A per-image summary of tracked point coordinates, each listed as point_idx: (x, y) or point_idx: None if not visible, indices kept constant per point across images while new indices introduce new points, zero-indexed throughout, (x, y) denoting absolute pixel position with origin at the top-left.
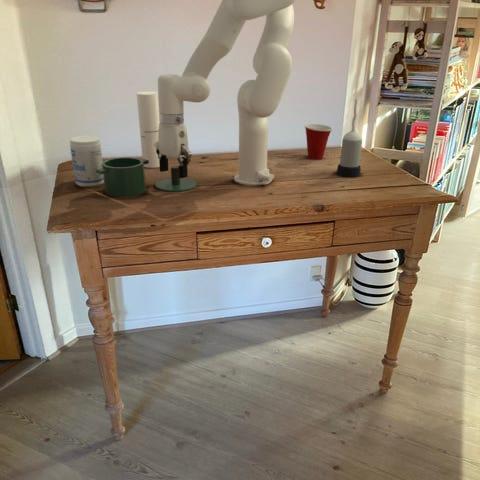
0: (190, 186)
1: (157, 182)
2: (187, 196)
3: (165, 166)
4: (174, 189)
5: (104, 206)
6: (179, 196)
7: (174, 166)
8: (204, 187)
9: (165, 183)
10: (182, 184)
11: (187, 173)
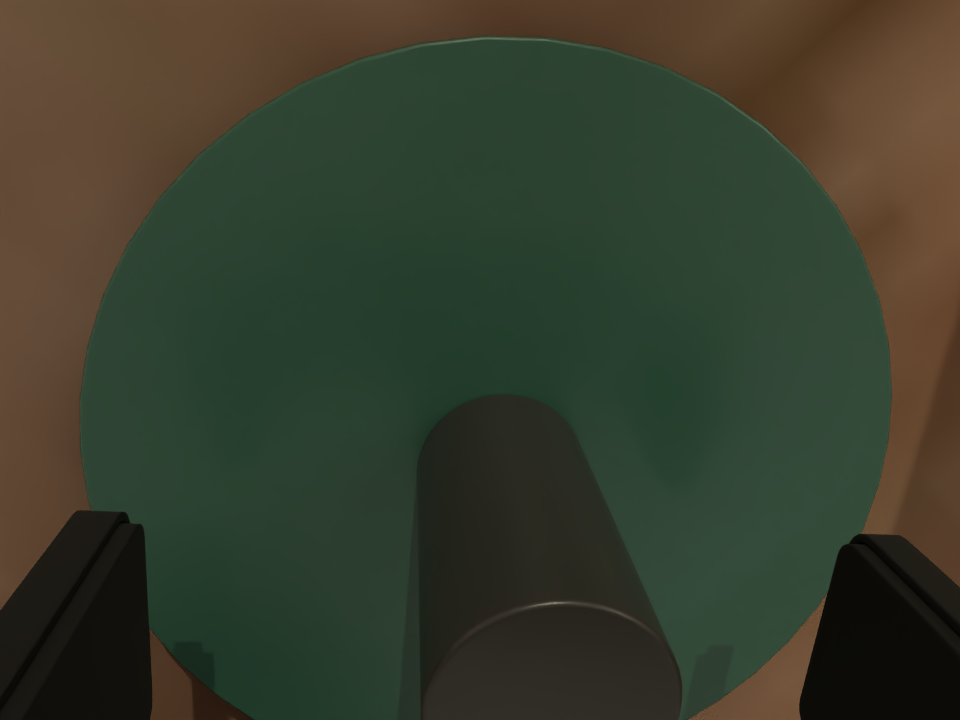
0: (829, 400)
1: (170, 628)
2: None
3: (105, 674)
4: (700, 674)
5: None
6: None
7: (487, 682)
8: (934, 93)
9: (329, 575)
10: (624, 414)
11: (941, 573)
